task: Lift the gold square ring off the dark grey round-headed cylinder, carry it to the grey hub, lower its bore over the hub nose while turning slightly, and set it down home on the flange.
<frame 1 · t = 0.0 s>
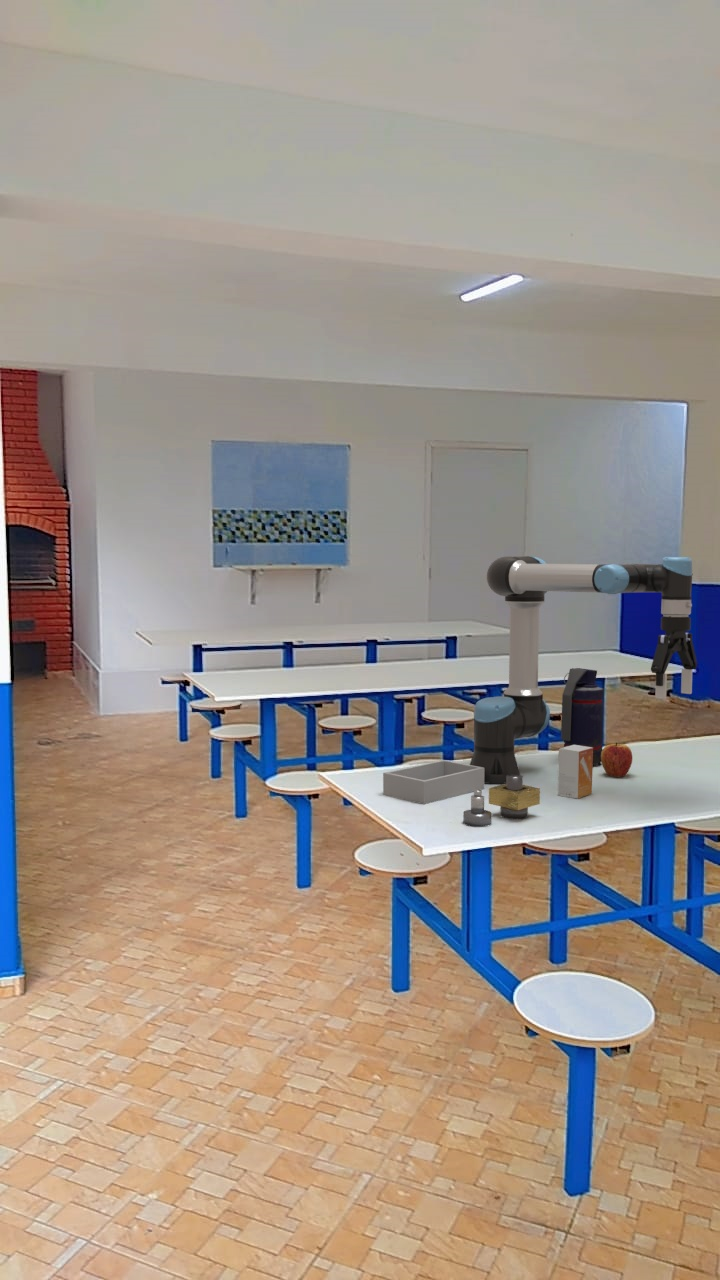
hand: (673, 696, 266), 28 cm above the table, fingers open, 13 cm apart
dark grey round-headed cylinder: (514, 815, 252), on the table
grenade: (580, 764, 315), on the table
paper bin: (434, 791, 278), on the table
apple: (616, 776, 298), on the table
small box: (575, 795, 274), on the table
hub: (477, 822, 245), on the table
gold square ring: (514, 803, 252), point 3 cm above the table, touching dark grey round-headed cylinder
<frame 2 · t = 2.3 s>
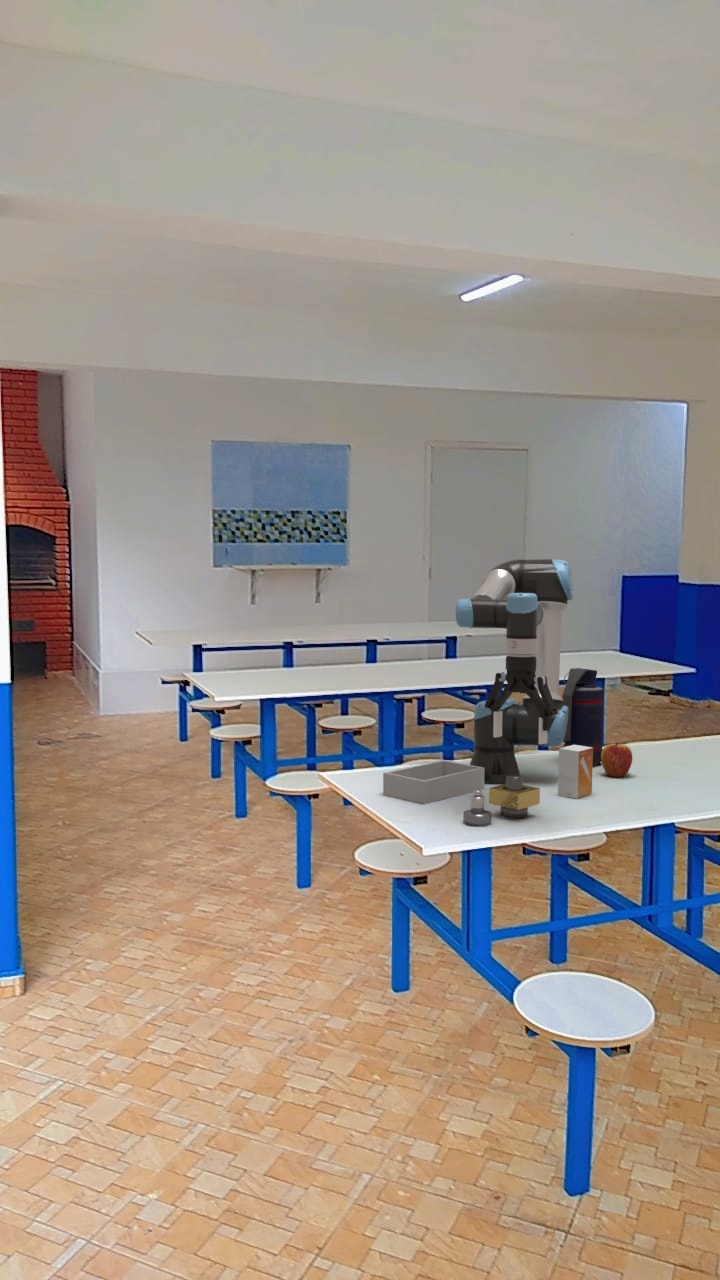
hand: (519, 740, 251), 19 cm above the table, fingers open, 13 cm apart
nothing on the table moved.
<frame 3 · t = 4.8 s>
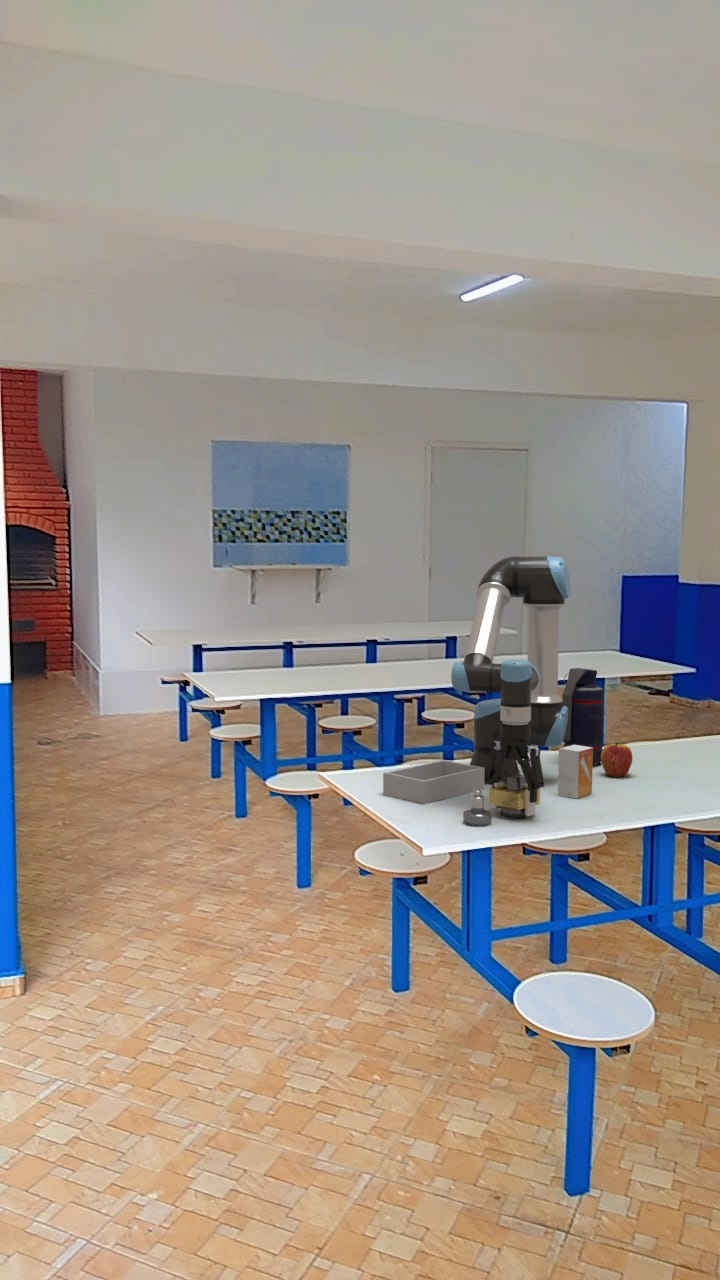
hand: (514, 811, 252), 1 cm above the table, fingers closed on gold square ring, 9 cm apart
gold square ring: (514, 803, 252), point 3 cm above the table, touching gripper, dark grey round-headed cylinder
everything else where it was.
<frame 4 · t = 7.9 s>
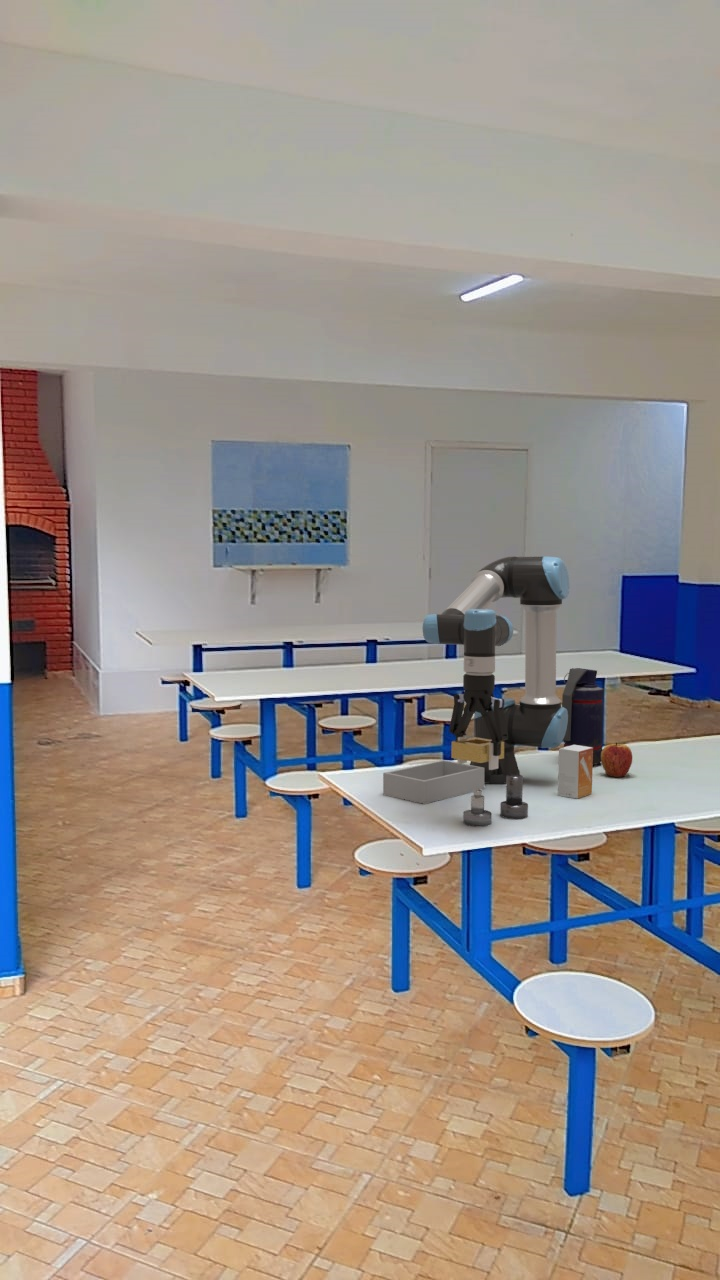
hand: (477, 765, 244), 14 cm above the table, fingers closed on gold square ring, 9 cm apart
gold square ring: (477, 758, 243), point 16 cm above the table, touching gripper
everything else where it was.
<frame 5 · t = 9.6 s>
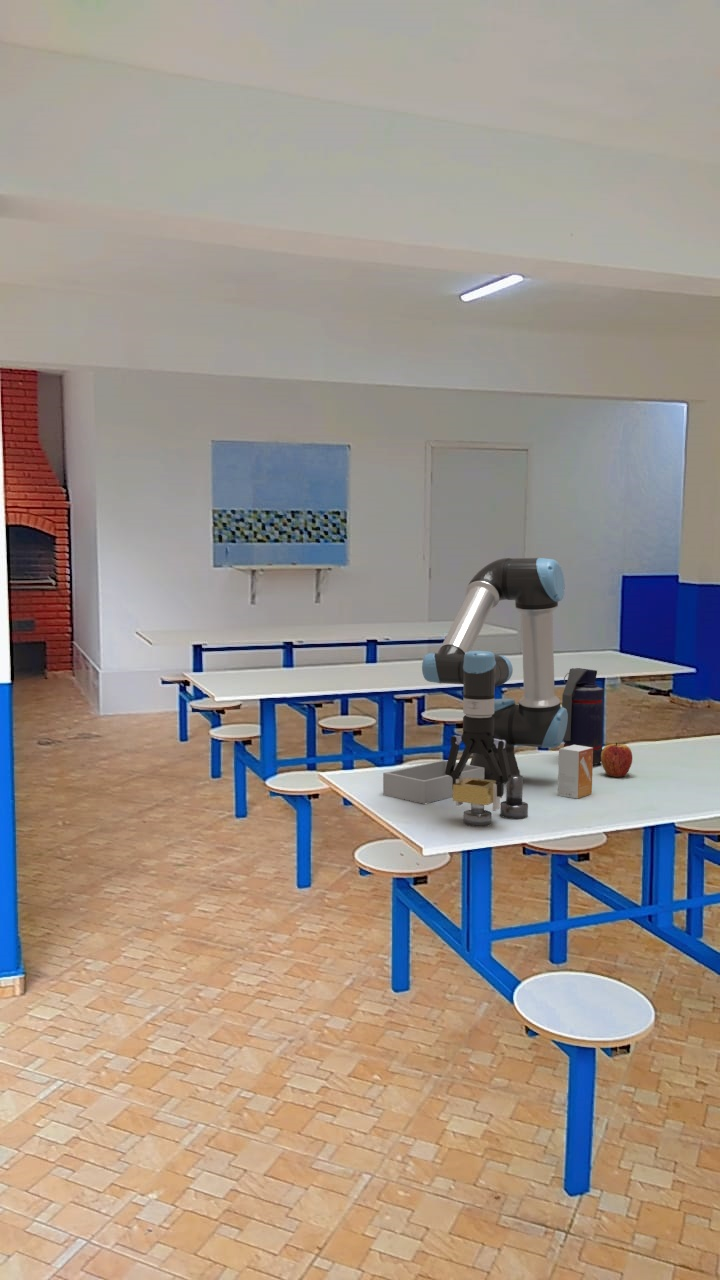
hand: (477, 806, 245), 4 cm above the table, fingers closed on gold square ring, 9 cm apart
gold square ring: (477, 799, 244), point 6 cm above the table, touching gripper
everything else where it was.
when the fingers open (2 cm above the table, at t = 11.1 s): gold square ring drops 1 cm, resting on hub.
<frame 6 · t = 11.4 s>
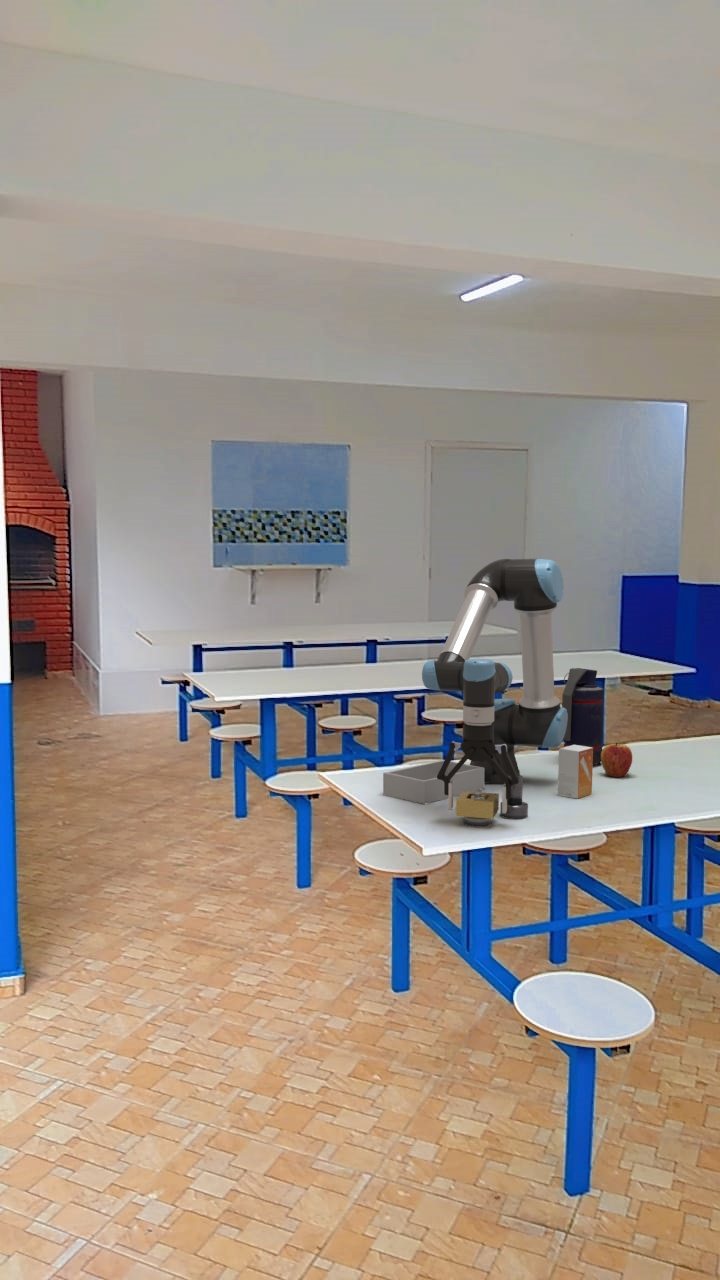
hand: (477, 810, 245), 3 cm above the table, fingers open, 12 cm apart
gold square ring: (477, 812, 245), point 2 cm above the table, touching hub
everything else where it was.
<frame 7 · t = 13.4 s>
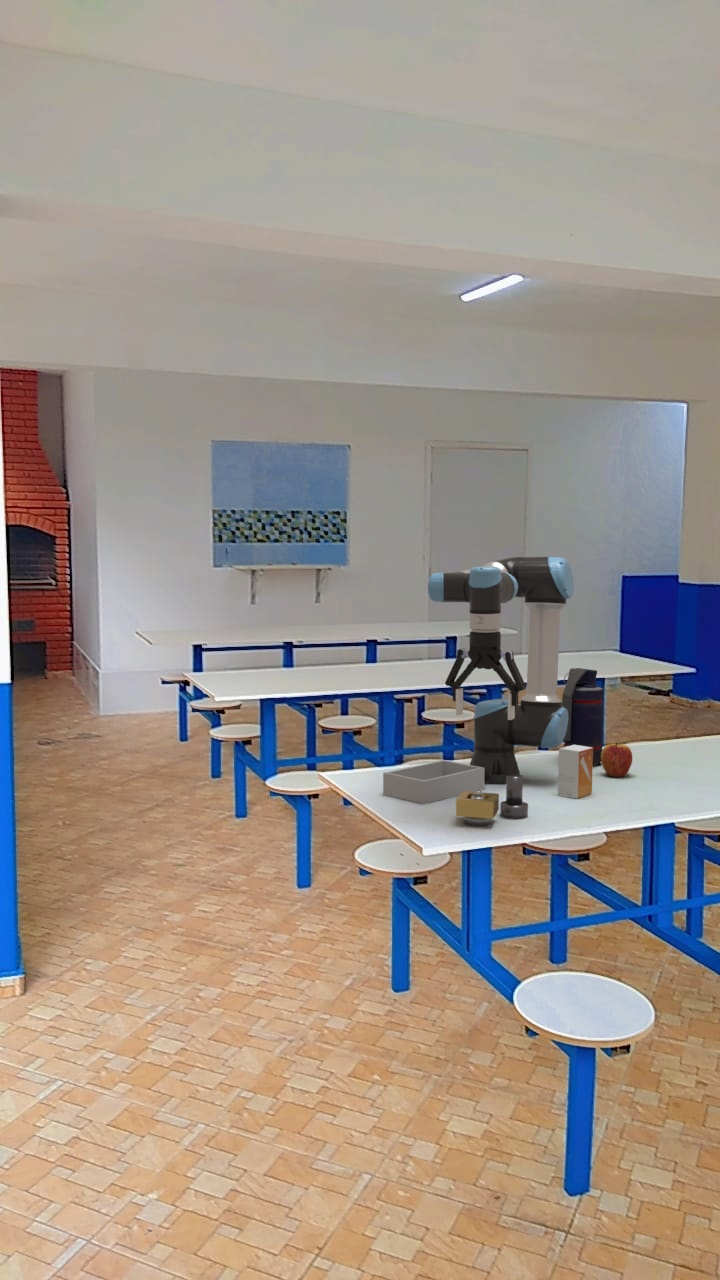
hand: (484, 717, 246), 26 cm above the table, fingers open, 13 cm apart
nothing on the table moved.
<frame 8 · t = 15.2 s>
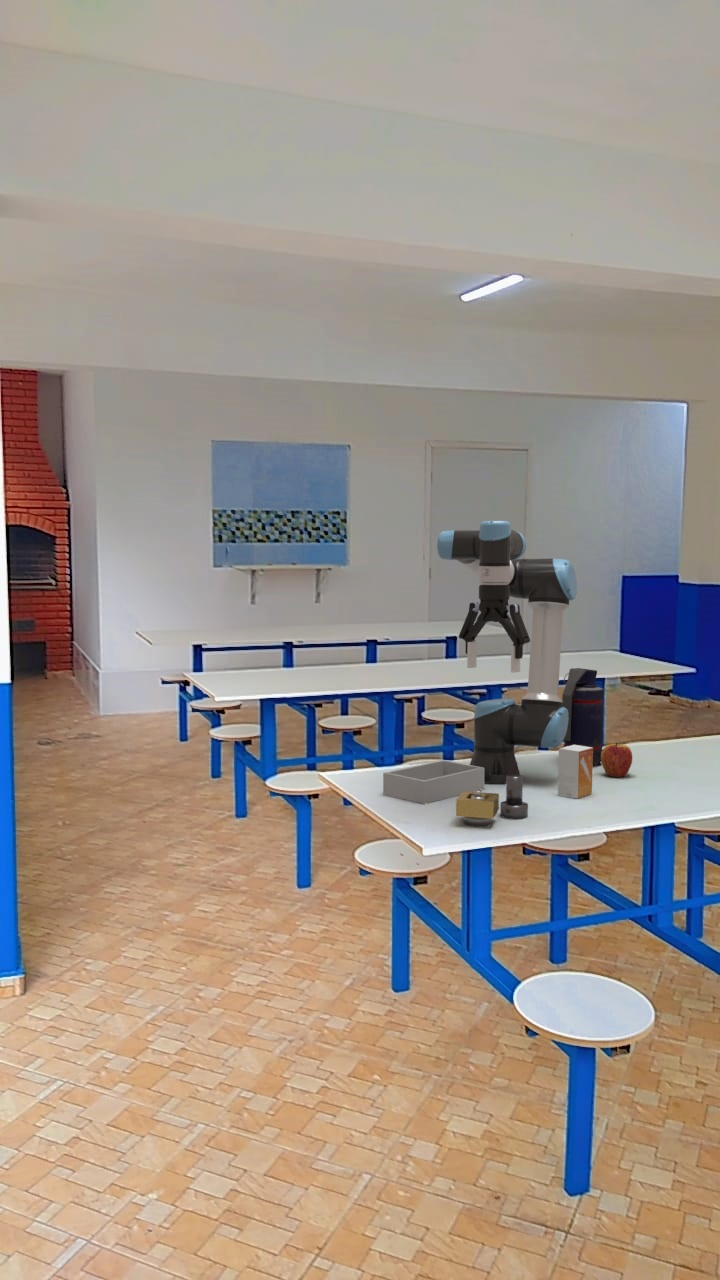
hand: (493, 669, 249), 37 cm above the table, fingers open, 13 cm apart
nothing on the table moved.
at the end: gold square ring 0.0 cm off-centre on the hub, point 2.5 cm above the hub's base; the gripper is holding nothing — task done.
